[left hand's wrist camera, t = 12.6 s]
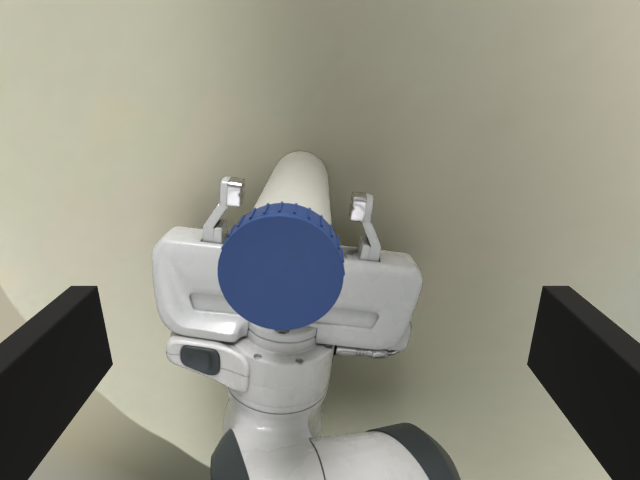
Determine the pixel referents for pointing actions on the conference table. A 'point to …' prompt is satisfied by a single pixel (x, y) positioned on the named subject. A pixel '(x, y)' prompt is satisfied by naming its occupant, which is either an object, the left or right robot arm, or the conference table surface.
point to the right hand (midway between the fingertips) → (298, 186)
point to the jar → (299, 184)
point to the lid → (281, 266)
